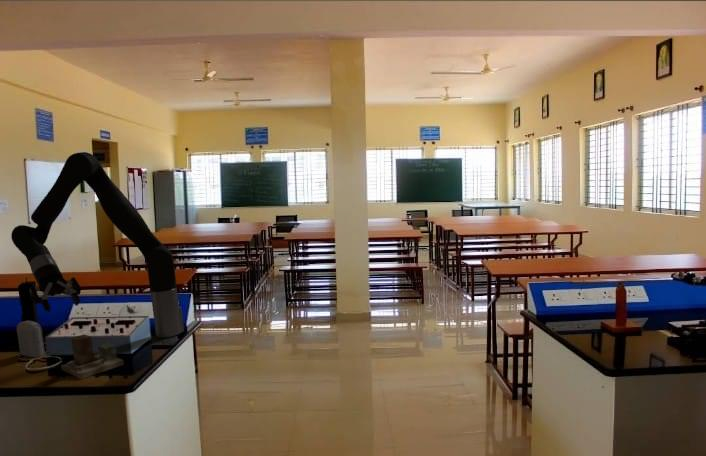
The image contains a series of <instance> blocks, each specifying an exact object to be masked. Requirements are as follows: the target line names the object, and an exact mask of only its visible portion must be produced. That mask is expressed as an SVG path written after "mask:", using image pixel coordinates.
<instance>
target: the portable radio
mask: <svg viewBox="0 0 706 456" xmlns="http://www.w3.org/2000/svg"><path fill="white" fill-rule="evenodd" d="M36 283H37V281H36V280H31V281H30V280H29V281H28V277H25V281H24V282H20V283H19V284H18V286H17V289H18V290H17V291H18V298H19V303H20V306H21V313H22V314H21V318H20V319H21V320H20V321H21V322H24V321H33V322H36V323H37V324H39V325H40V322H39V315H38V309H37V304H34V303H33V300H32V298H31V295H30V292H29V290H30V286H31V285H34V286H35V287H36V286H37V284H36ZM41 329H42V336H44V329H43V327H41Z"/></svg>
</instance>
